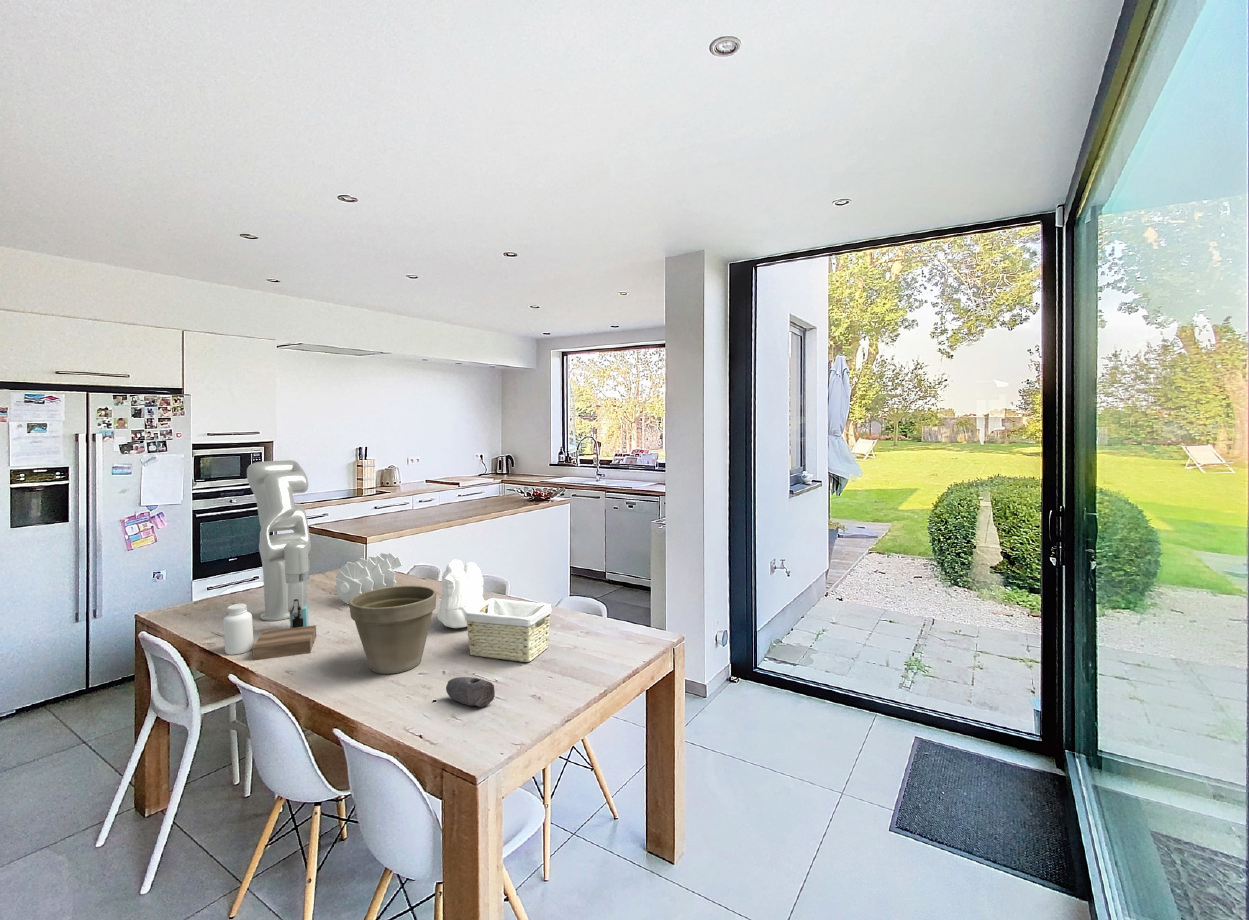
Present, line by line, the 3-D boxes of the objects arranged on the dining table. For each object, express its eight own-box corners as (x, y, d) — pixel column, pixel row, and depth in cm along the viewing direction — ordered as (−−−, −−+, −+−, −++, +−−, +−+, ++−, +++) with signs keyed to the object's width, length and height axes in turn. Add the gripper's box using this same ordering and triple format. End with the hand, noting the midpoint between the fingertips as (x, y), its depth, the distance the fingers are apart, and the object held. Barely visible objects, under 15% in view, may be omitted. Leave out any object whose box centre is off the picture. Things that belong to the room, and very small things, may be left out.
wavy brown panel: (263, 642, 204) (263, 631, 203) (316, 636, 209) (315, 625, 209) (253, 660, 189) (252, 648, 188) (310, 653, 194) (309, 641, 194)
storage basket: (463, 656, 191) (462, 610, 190) (491, 638, 206) (490, 596, 205) (530, 666, 183) (529, 618, 182) (554, 647, 198) (553, 603, 197)
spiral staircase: (338, 615, 245) (383, 595, 268) (366, 601, 238) (410, 582, 261) (320, 574, 246) (367, 557, 269) (348, 559, 239) (394, 543, 262)
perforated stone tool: (440, 701, 161) (439, 675, 160) (454, 693, 165) (453, 668, 165) (483, 713, 154) (483, 687, 153) (497, 705, 158) (496, 679, 158)
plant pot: (374, 648, 198) (372, 584, 196) (448, 649, 197) (446, 584, 195) (335, 681, 173) (332, 608, 171) (420, 682, 172) (418, 608, 171)
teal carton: (293, 630, 215) (291, 606, 214) (308, 629, 217) (307, 604, 216) (290, 635, 210) (289, 610, 210) (306, 633, 212) (305, 608, 212)
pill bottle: (223, 657, 191) (220, 611, 190) (226, 648, 199) (224, 604, 198) (252, 652, 195) (250, 607, 194) (254, 644, 202) (252, 600, 201)
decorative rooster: (462, 636, 208) (460, 566, 206) (427, 630, 215) (425, 561, 213) (505, 615, 231) (504, 551, 229) (473, 609, 237) (471, 547, 236)
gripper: (289, 572, 219) (291, 620, 220) (281, 584, 203) (283, 636, 204) (312, 570, 222) (314, 618, 223) (305, 582, 206) (308, 633, 207)
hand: (299, 626), depth 213 cm, fingers open, 5 cm apart
